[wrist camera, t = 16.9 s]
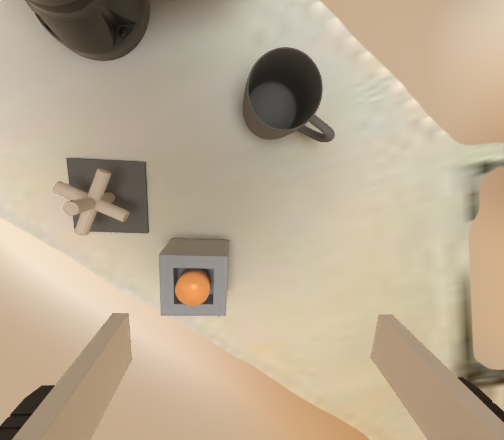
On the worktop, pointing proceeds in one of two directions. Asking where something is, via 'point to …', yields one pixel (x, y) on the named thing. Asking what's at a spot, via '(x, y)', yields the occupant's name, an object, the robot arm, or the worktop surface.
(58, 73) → the worktop surface
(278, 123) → the mug
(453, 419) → the robot arm
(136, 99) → the worktop surface
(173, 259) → the housing
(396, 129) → the worktop surface
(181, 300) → the plunger
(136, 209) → the mat
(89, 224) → the beige toy jack
